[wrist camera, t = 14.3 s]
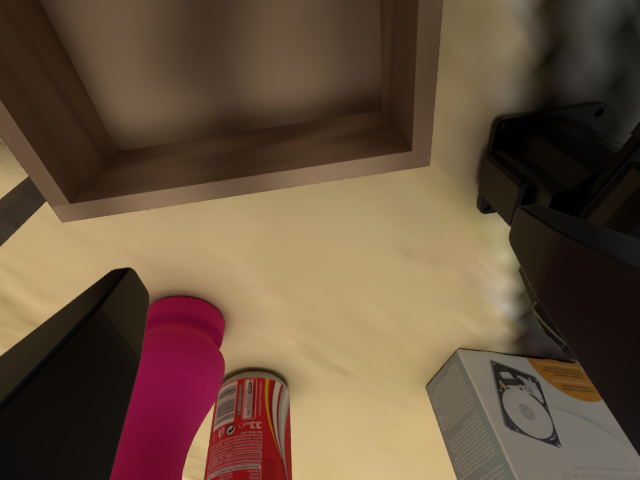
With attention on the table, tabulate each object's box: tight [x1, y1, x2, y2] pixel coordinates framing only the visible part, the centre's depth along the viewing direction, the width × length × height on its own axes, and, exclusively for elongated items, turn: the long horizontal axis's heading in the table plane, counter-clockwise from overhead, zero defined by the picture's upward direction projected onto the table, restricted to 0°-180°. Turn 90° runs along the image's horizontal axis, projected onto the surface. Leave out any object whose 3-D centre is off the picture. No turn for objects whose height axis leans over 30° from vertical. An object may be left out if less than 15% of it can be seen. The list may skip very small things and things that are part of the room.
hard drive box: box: [426, 349, 640, 480], centre depth 30 cm, size 16×8×20 cm, turn 73°
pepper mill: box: [110, 296, 225, 480], centre depth 21 cm, size 7×7×20 cm
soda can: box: [204, 371, 292, 480], centre depth 30 cm, size 7×7×13 cm
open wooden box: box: [0, 0, 443, 246], centre depth 13 cm, size 20×13×10 cm, turn 97°
